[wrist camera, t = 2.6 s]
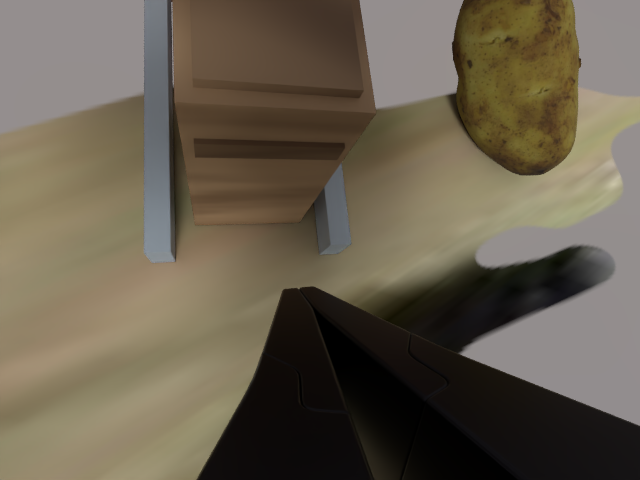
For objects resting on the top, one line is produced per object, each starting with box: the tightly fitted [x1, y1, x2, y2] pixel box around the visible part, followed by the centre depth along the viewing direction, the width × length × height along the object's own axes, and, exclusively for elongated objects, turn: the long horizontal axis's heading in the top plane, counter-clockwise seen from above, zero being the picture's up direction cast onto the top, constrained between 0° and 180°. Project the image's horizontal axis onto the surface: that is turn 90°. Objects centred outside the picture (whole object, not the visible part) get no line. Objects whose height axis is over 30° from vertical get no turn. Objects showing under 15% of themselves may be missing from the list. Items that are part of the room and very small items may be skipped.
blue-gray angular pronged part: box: [144, 0, 351, 263], centre depth 21 cm, size 18×11×7 cm, turn 5°
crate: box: [173, 0, 376, 225], centre depth 18 cm, size 7×6×12 cm
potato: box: [452, 0, 581, 175], centre depth 26 cm, size 8×13×8 cm, turn 2°
